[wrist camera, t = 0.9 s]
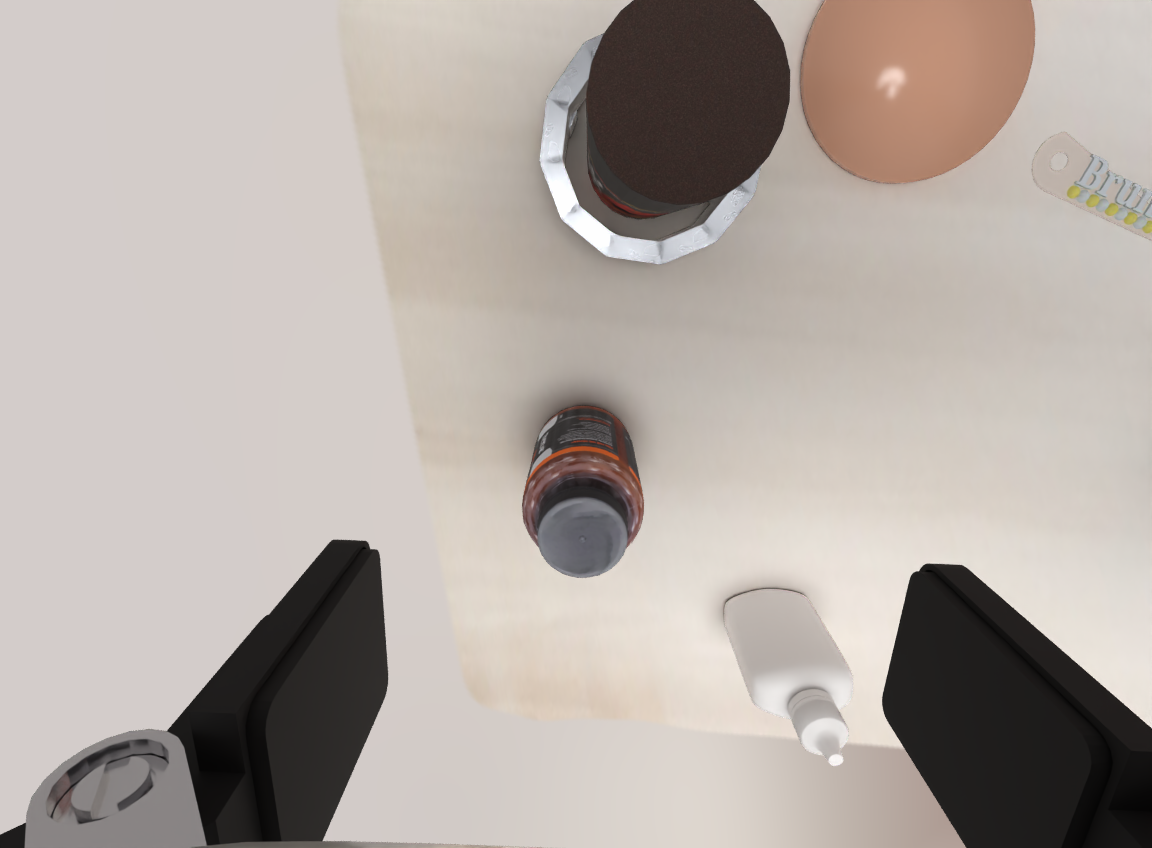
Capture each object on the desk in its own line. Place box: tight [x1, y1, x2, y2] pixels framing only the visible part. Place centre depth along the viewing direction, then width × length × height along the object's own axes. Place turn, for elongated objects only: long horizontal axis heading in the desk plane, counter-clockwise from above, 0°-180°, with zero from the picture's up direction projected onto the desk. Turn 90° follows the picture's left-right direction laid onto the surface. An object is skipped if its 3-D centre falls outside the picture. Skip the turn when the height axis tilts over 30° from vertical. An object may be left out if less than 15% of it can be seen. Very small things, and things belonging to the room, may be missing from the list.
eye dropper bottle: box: [724, 589, 853, 766], centre depth 34 cm, size 4×6×12 cm
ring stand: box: [540, 33, 761, 264], centre depth 29 cm, size 10×10×5 cm
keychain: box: [1032, 132, 1152, 241], centre depth 32 cm, size 10×1×3 cm
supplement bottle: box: [522, 406, 644, 578], centre depth 31 cm, size 6×6×11 cm
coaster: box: [800, 0, 1035, 184], centre depth 30 cm, size 11×11×1 cm
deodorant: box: [586, 0, 790, 219], centre depth 25 cm, size 6×6×15 cm
